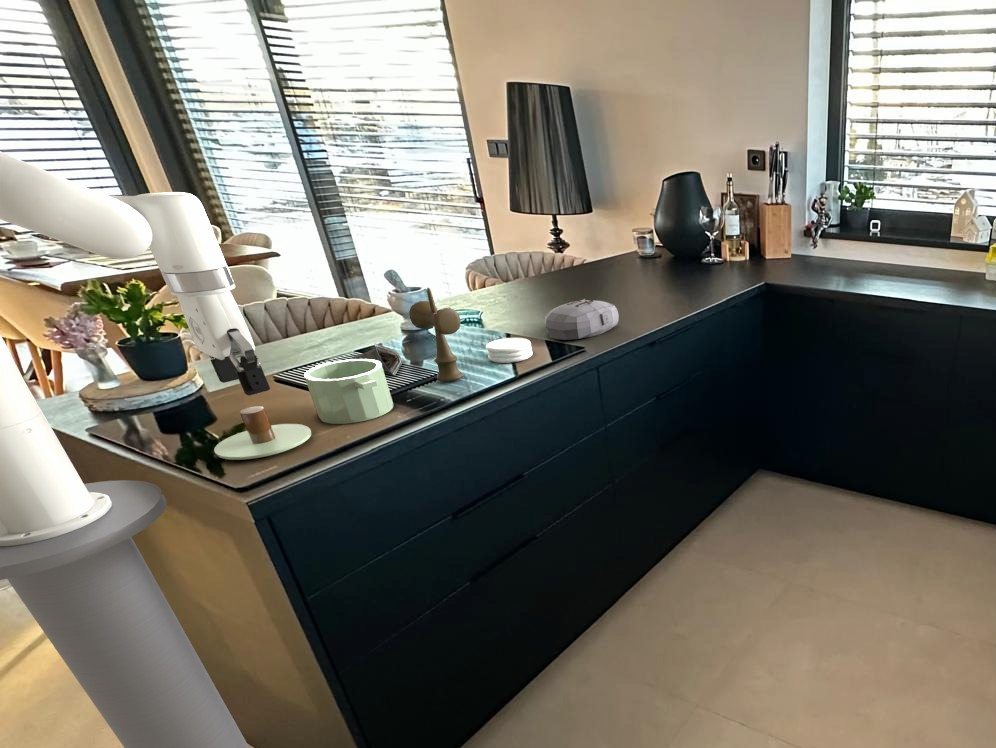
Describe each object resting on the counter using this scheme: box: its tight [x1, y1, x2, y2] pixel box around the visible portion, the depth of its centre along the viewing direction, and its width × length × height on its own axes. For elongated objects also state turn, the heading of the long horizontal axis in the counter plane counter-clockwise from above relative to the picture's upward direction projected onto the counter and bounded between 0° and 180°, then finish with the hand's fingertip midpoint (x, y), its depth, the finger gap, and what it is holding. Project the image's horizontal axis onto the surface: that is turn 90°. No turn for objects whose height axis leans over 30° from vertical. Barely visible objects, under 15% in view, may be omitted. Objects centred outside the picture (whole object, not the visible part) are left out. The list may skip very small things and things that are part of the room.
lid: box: [213, 405, 312, 461], centre depth 105 cm, size 13×13×7 cm
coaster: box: [485, 337, 533, 364], centre depth 150 cm, size 10×10×4 cm
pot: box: [304, 359, 394, 425], centre depth 118 cm, size 12×17×8 cm
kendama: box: [408, 287, 464, 383], centre depth 132 cm, size 6×10×20 cm, turn 58°
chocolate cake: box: [351, 342, 403, 376], centre depth 139 cm, size 10×7×12 cm
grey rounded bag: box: [543, 298, 620, 341], centre depth 168 cm, size 15×8×20 cm
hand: (245, 386), depth 102 cm, fingers open, 9 cm apart
